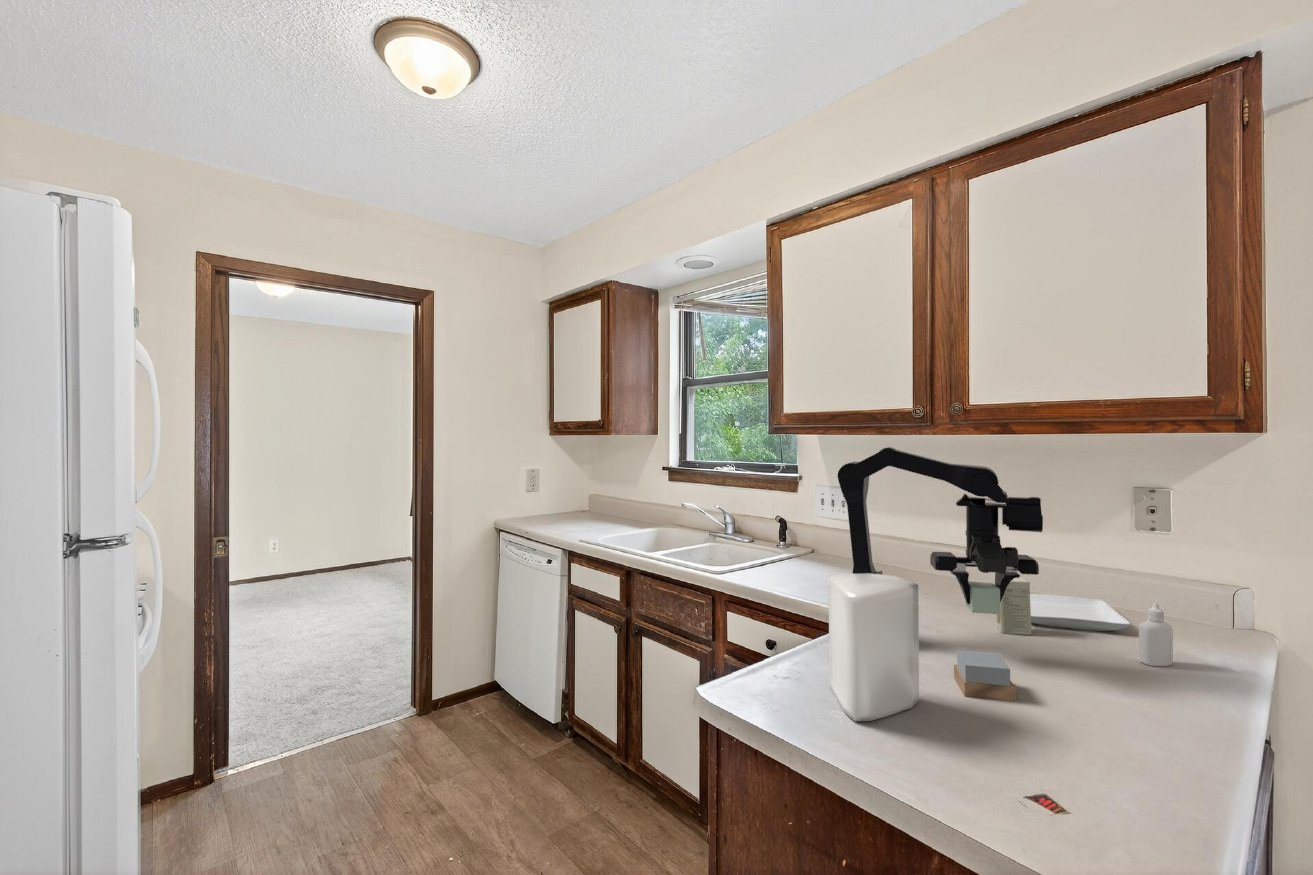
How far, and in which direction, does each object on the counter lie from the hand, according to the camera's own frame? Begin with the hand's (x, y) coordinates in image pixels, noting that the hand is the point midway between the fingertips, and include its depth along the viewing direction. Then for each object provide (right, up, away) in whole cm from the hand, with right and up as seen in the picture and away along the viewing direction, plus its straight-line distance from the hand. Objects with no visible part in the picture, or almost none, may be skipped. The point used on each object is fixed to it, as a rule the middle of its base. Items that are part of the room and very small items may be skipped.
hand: (982, 604), depth 120 cm
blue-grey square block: (-8, -9, -14) cm, 18 cm away
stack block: (0, -1, 0) cm, 1 cm away
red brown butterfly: (-18, -13, -47) cm, 51 cm away
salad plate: (+33, -11, +24) cm, 42 cm away
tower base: (-8, -12, -14) cm, 20 cm away
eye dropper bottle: (+32, -11, -4) cm, 34 cm away
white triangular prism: (-28, -12, -18) cm, 36 cm away
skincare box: (+15, -11, +15) cm, 24 cm away
